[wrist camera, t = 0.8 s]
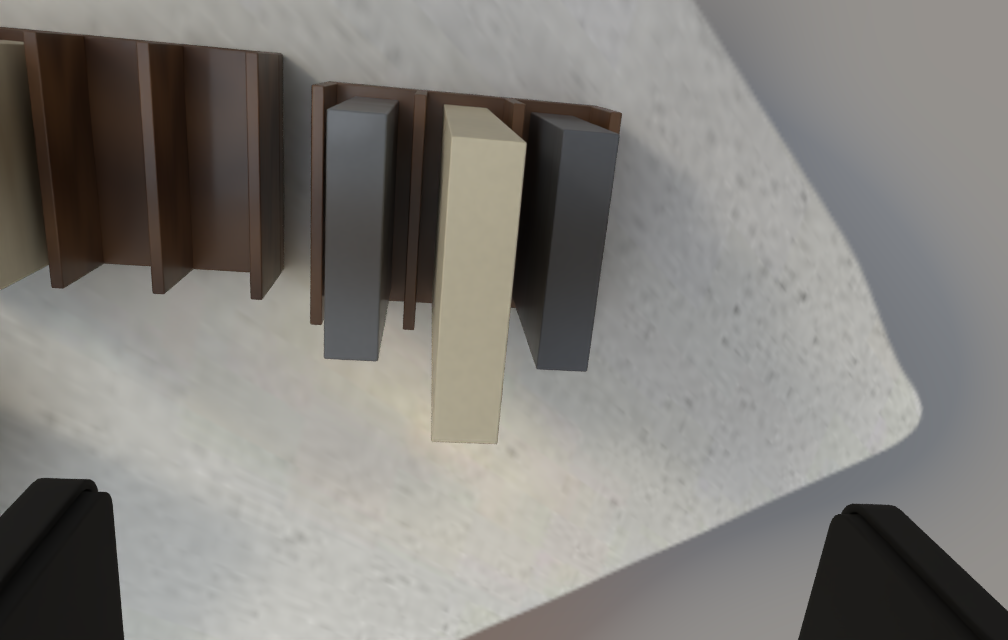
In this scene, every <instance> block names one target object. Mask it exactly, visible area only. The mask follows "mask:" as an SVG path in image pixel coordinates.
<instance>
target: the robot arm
mask: <svg viewBox="0 0 1008 640" xmlns="http://www.w3.org/2000/svg"><path fill="white" fill-rule="evenodd" d="M0 640H124V632H123V620H122V609H121V597H120V585H119V573H118V562H117V550H116V538H115V526H114V515H113V504H112V498H111V496H110V494H109V493H107V492H98V489H97V486H96V484H95V482H93V481H92V480H90V479H59V478H40V479H37V480H36V481H35V482H33V483H32V484H31V485H30V486H29V487H28V488H27V489H26V490H25V491H24V492H23V494H22V495H21V496H20V497H19V498H18V499H17V500H16V501H15V502H14V503H13V504H12V505H11V506H10V507H9V508H8V509H7V510H6V511H5V512H4V513H3V514H2V516H1V517H0ZM798 640H1008V611H1007V610H1006V609H1005V608H1004V607H1003V606H1002V605H1001V604H1000V603H999V602H997V600H995V599H994V598H993V597H992V596H991V595H990V594H989V593H988V592H987V591H986V590H985V589H984V588H983V587H982V586H981V585H980V584H978V583H977V582H976V581H975V580H974V579H973V578H972V577H971V576H970V575H969V574H968V573H967V572H966V571H965V570H964V569H963V568H961V566H959V565H958V564H957V563H956V562H955V561H954V560H953V559H952V558H951V557H950V556H949V555H948V554H947V553H946V552H945V551H944V550H943V549H941V548H940V547H939V546H938V545H937V544H936V543H935V542H934V541H933V540H932V539H931V538H930V537H929V536H928V535H927V534H925V533H924V532H923V531H922V530H921V529H920V528H919V527H918V526H917V525H916V524H915V523H914V522H913V521H912V520H911V519H910V518H909V517H908V516H906V515H905V514H904V513H903V512H902V511H901V510H900V509H898V508H897V507H895V506H892V505H877V504H875V505H874V504H850V505H848V506H846V507H845V509H844V510H843V511H842V513H841V514H838V515H835V516H834V518H833V519H832V521H831V523H830V526H829V530H828V533H827V537H826V541H825V544H824V548H823V551H822V555H821V559H820V562H819V566H818V569H817V573H816V577H815V580H814V584H813V588H812V591H811V595H810V599H809V602H808V606H807V610H806V613H805V617H804V621H803V624H802V628H801V631H800V635H799V638H798Z"/></svg>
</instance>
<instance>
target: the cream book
mask: <svg viewBox="0 0 1008 640" xmlns="http://www.w3.org/2000/svg"><path fill="white" fill-rule="evenodd" d="M526 147H527V143H526V142H525V141H524V140H523V139H522V138H520V137H519V136H518V135H517V134H516V133H515V132H514V131H512V130H511V129H510V128H509V127H508V126H507V125H506V124H504V123H503V122H502V121H501V120H500V119H499V118H498V117H496V116H495V115H494V114H493V113H492V112H491V111H490V110H488V109H487V108H480V107H469V106H458V105H446V104H444V107H443V123H442V139H441V155H440V172H439V188H438V204H437V220H436V236H435V253H434V269H433V285H432V402H431V440H432V442H455V443H482V444H497V441H498V430H499V420H500V410H501V400H502V390H503V380H504V370H505V359H506V349H507V339H508V329H509V319H510V309H511V299H512V288H513V278H514V268H515V258H516V248H517V238H518V228H519V218H520V207H521V197H522V187H523V177H524V167H525V157H526Z"/></svg>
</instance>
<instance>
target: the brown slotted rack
mask: <svg viewBox="0 0 1008 640" xmlns="http://www.w3.org/2000/svg"><path fill="white" fill-rule="evenodd" d="M444 104H446V105H458V106H469V107H480V108H487V109H488V110H490V111H491V112H492V113H493V114H494V115H495V116H496V117H498V118H499V119H500V120H501V121H502V122H503V123H504V124H506V125H507V126H508V127H509V128H510V129H511V130H512V131H514V132H515V133H516V134H517V135H518V136H519V137H520V138H522V139H523V140H524V141H525V142H526V143H527V147H526V157H525V167H524V177H523V187H522V197H521V207H520V218H519V228H518V238H517V248H516V258H515V268H514V278H513V288H512V299H511V308H516V309H517V312H518V315H519V318H520V321H521V324H522V327H523V330H524V333H525V336H526V339H527V342H528V345H529V348H530V351H531V354H532V357H533V360H534V363H535V365H536V368H537V369H543V370H563V371H584V372H586V371H587V368H588V360H589V353H590V346H591V339H592V331H593V324H594V317H595V310H596V302H597V295H598V288H599V281H600V273H601V266H602V259H603V252H604V245H605V237H606V230H607V223H608V216H609V208H610V201H611V194H612V187H613V179H614V172H615V165H616V158H617V150H618V143H619V132H620V124H621V117H622V113H621V112H617V111H613V110H610V109H606V108H602V107H599V106H593V105H582V104H571V103H560V102H549V101H539V100H528V99H517V98H506V97H495V96H484V95H473V94H462V93H451V92H440V91H429V90H418V89H407V88H396V87H385V86H375V85H364V84H353V83H342V82H331V81H329V82H324V83H319V84H314V85H312V113H311V289H310V324H312V325H322V323H323V320H324V358H325V359H340V360H361V361H378V358H379V352H380V347H381V341H382V336H383V330H384V325H385V320H386V314H387V309H388V303H389V301H404V315H403V329H404V330H414V325H415V311H416V302H422V303H432V285H433V269H434V253H435V236H436V220H437V204H438V188H439V172H440V155H441V139H442V123H443V107H444Z"/></svg>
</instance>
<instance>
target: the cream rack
mask: <svg viewBox="0 0 1008 640" xmlns="http://www.w3.org/2000/svg"><path fill="white" fill-rule="evenodd" d="M103 263H105V264H122V265H138V266H151V276H152V291H153V293H154V294H165V293H166V292H167V291H168V290H170V289H171V288H172V287H173V286H174V285H175V284H177V283H178V282H179V281H180V280H181V279H182V278H183V277H185V276H186V275H187V274H188V273H189V272H190V271H192V270H193V269H203V270H220V271H236V272H250V293H251V299H256V300H262V299H263V298H264V296H265V295H266V294H267V292H268V291H269V289H270V288H271V287H272V285H273V284H274V282H275V281H276V280H277V278H278V277H279V275H280V274H281V272H282V271H283V269H284V156H283V55H282V54H281V53H271V52H260V51H250V50H239V49H229V48H218V47H208V46H197V45H187V44H176V43H166V42H155V41H145V40H134V39H123V38H113V37H102V36H92V35H81V34H71V33H60V32H50V31H39V30H29V29H18V28H8V27H0V290H2V289H4V288H6V287H8V286H10V285H11V284H13V283H15V282H17V281H19V280H21V279H23V278H25V277H27V276H28V275H30V274H32V273H34V272H36V271H38V270H40V269H42V268H43V267H45V266H47V265H49V269H50V278H51V286H52V288H65V287H67V286H68V285H70V284H72V283H73V282H75V281H76V280H78V279H80V278H81V277H83V276H85V275H86V274H88V273H89V272H91V271H93V270H94V269H96V268H98V267H99V266H101V265H102V264H103Z"/></svg>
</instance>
